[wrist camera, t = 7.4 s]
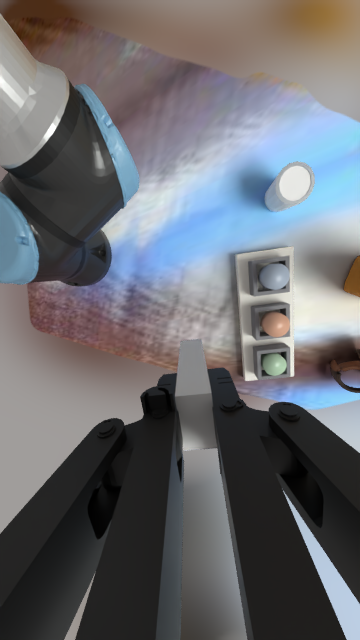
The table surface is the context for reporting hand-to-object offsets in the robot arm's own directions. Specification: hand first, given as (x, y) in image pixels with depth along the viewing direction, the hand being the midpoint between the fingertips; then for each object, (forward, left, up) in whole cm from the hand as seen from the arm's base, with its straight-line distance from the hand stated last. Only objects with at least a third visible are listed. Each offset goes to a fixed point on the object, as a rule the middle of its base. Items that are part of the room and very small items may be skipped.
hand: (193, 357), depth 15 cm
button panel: (+16, +10, -34) cm, 39 cm away
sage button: (+24, +4, -32) cm, 40 cm away
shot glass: (-3, +28, -35) cm, 45 cm away
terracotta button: (+16, +10, -30) cm, 35 cm away
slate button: (+8, +16, -30) cm, 35 cm away
